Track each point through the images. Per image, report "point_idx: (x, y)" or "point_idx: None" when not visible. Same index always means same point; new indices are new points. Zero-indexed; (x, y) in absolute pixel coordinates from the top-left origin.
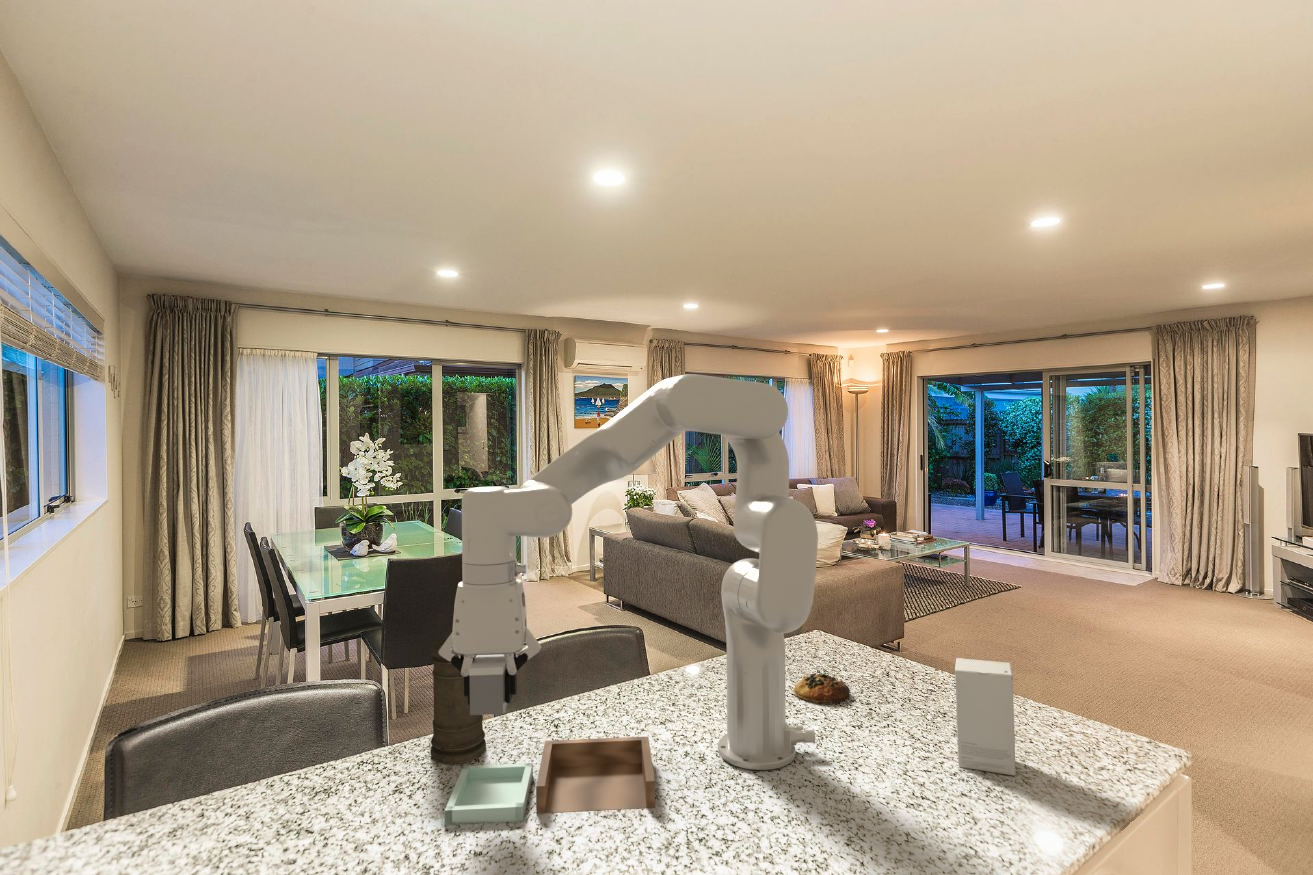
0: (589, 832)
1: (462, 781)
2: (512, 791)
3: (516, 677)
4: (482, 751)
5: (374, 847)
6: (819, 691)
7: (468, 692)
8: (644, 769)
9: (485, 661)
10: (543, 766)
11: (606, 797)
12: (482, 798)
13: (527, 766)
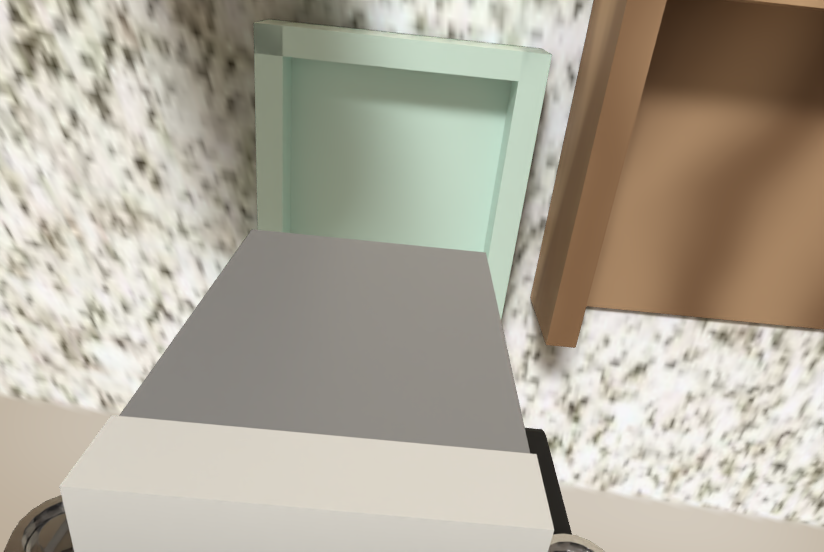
0: (658, 393)
1: (277, 159)
2: (461, 175)
3: (562, 506)
4: None
5: (113, 356)
6: None
7: None
8: None
9: None
10: (591, 213)
11: (763, 256)
12: (362, 202)
13: (527, 82)
